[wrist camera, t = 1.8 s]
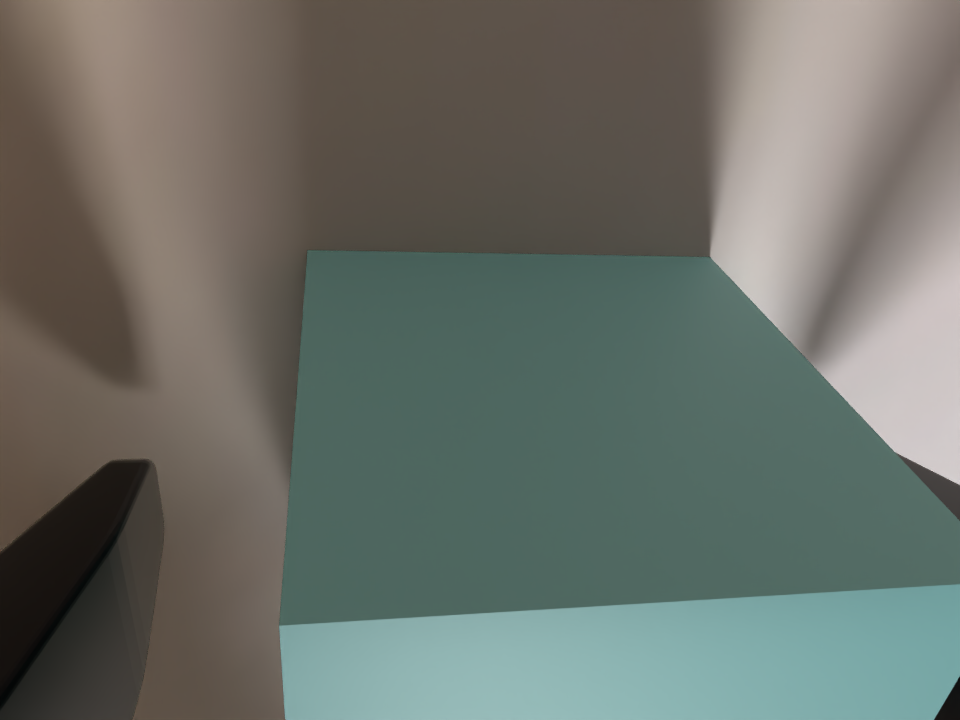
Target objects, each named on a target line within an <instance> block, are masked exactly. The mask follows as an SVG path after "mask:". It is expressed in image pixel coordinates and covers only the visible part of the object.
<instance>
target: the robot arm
mask: <svg viewBox="0 0 960 720" xmlns="http://www.w3.org/2000/svg"><path fill="white" fill-rule="evenodd" d="M896 454H897V453H896ZM897 455H898V456H899V457H900V458H901V459H902V460H903V462H904V463H905V464H906V465H907V466H908V467H909V468H910V469H911V470H912V471H913V472H914V473H915V474H916V475H917V476H918V477H919V478H920V479H921V481H922V482H923V483H924V484H925V485H926V486H927V487H928V488H929V489H930V490H931V491H932V492H933V493H934V494H935V495H936V496H937V497H938V498H939V500H940V501H941V502H942V503H943V504H944V505H945V506H946V507H947V508H948V509H949V510H950V511H951V512H952V513H953V514H954V515H955V516H956V517H957V519H958V520H959V521H960V485H958V484H956V483H954V482H952V481H950V480H948V479H947V478H945V477H943V476H941V475H939V474H937V473H935V472H933V471H931V470H929V469H927V468H925V467H923V466H921V465H919V464H917V463H915V462H913V461H911V460H909V459H907V458H905V457H903V456H901V455H899V454H897ZM163 542H164V517H163V510H162V504H161V497H160V491H159V484H158V478H157V472H156V468H155V465H154V464H153V462H152V461H150V460H149V459H121V460H112V461H109V462H108V463H106V464H105V465H103V466H102V467H101V468H100V469H99V470H97V471H96V472H95V473H94V474H93V475H92V476H90V477H89V478H88V479H87V480H86V481H84V482H83V483H82V484H81V485H80V486H78V487H77V488H76V489H75V490H74V491H72V492H71V493H70V494H69V495H68V496H66V497H65V498H64V499H63V500H62V501H60V502H59V503H58V504H57V505H56V506H54V507H53V508H52V509H51V510H50V511H48V512H47V513H46V514H45V515H44V516H42V517H41V518H40V519H39V520H38V521H36V522H35V523H34V524H33V525H32V526H31V527H29V528H28V529H27V530H26V531H25V532H23V533H22V534H21V535H20V536H19V537H17V538H16V539H15V540H14V541H13V542H11V543H10V544H9V545H8V546H7V547H5V548H4V549H3V550H2V551H1V552H0V720H133V716H134V713H135V709H136V705H137V702H138V698H139V694H140V689H141V685H142V681H143V677H144V671H145V665H146V659H147V654H148V647H149V640H150V633H151V626H152V619H153V612H154V605H155V598H156V591H157V584H158V577H159V570H160V563H161V556H162V550H163ZM934 720H960V677H959V678H958V680H957V682H956V683H955V685H954V687H953V688H952V690H951V692H950V693H949V695H948V697H947V698H946V700H945V702H944V704H943V705H942V707H941V709H940V710H939V712H938V714H937V715H936V717H935V719H934Z"/></svg>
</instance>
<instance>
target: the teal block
mask: <svg viewBox="0 0 960 720" xmlns="http://www.w3.org/2000/svg"><path fill="white" fill-rule="evenodd" d="M279 632H280V648H281V663H282V679H283V694H284V710H285V720H934V719H935V717H936V715H937V714H938V712H939V710H940V709H941V707H942V705H943V704H944V702H945V700H946V698H947V697H948V695H949V693H950V692H951V690H952V688H953V687H954V685H955V683H956V682H957V680H958V678H959V677H960V521H959V520H958V519H957V517H956V516H955V515H954V514H953V513H952V512H951V511H950V510H949V509H948V508H947V507H946V506H945V505H944V504H943V503H942V502H941V501H940V500H939V498H938V497H937V496H936V495H935V494H934V493H933V492H932V491H931V490H930V489H929V488H928V487H927V486H926V485H925V484H924V483H923V482H922V481H921V479H920V478H919V477H918V476H917V475H916V474H915V473H914V472H913V471H912V470H911V469H910V468H909V467H908V466H907V465H906V464H905V463H904V462H903V460H902V459H901V458H900V457H899V456H898V455H897V454H896V453H895V452H894V451H893V450H892V449H891V448H890V447H889V446H888V445H887V444H886V443H885V441H884V440H883V439H882V438H881V437H880V436H879V435H878V434H877V433H876V432H875V431H874V430H873V429H872V428H871V427H870V426H869V425H868V424H867V422H866V421H865V420H864V419H863V418H862V417H861V416H860V415H859V414H858V413H857V412H856V411H855V410H854V409H853V408H852V407H851V406H850V405H849V403H848V402H847V401H846V400H845V399H844V398H843V397H842V396H841V395H840V394H839V393H838V392H837V391H836V390H835V389H834V388H833V387H832V386H831V384H830V383H829V382H828V381H827V380H826V379H825V378H824V377H823V376H822V375H821V374H820V373H819V372H818V371H817V370H816V369H815V368H814V367H813V365H812V364H811V363H810V362H809V361H808V360H807V359H806V358H805V357H804V356H803V355H802V354H801V353H800V352H799V351H798V350H797V349H796V347H795V346H794V345H793V344H792V343H791V342H790V341H789V340H788V339H787V338H786V337H785V336H784V335H783V334H782V333H781V332H780V331H779V330H778V328H777V327H776V326H775V325H774V324H773V323H772V322H771V321H770V320H769V319H768V318H767V317H766V316H765V315H764V314H763V313H762V312H761V311H760V309H759V308H758V307H757V306H756V305H755V304H754V303H753V302H752V301H751V300H750V299H749V298H748V297H747V296H746V295H745V294H744V293H743V292H742V290H741V289H740V288H739V287H738V286H737V285H736V284H735V283H734V282H733V281H732V280H731V279H730V278H729V277H728V276H727V275H726V274H725V273H724V271H723V270H722V269H721V268H720V267H719V266H718V265H717V264H716V263H715V262H714V261H713V260H712V259H711V258H710V257H687V256H627V255H567V254H507V253H447V252H387V251H326V250H308V252H307V265H306V278H305V291H304V304H303V318H302V331H301V344H300V357H299V370H298V383H297V397H296V410H295V423H294V436H293V449H292V462H291V476H290V489H289V502H288V515H287V528H286V541H285V554H284V568H283V581H282V594H281V607H280V620H279Z"/></svg>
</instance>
